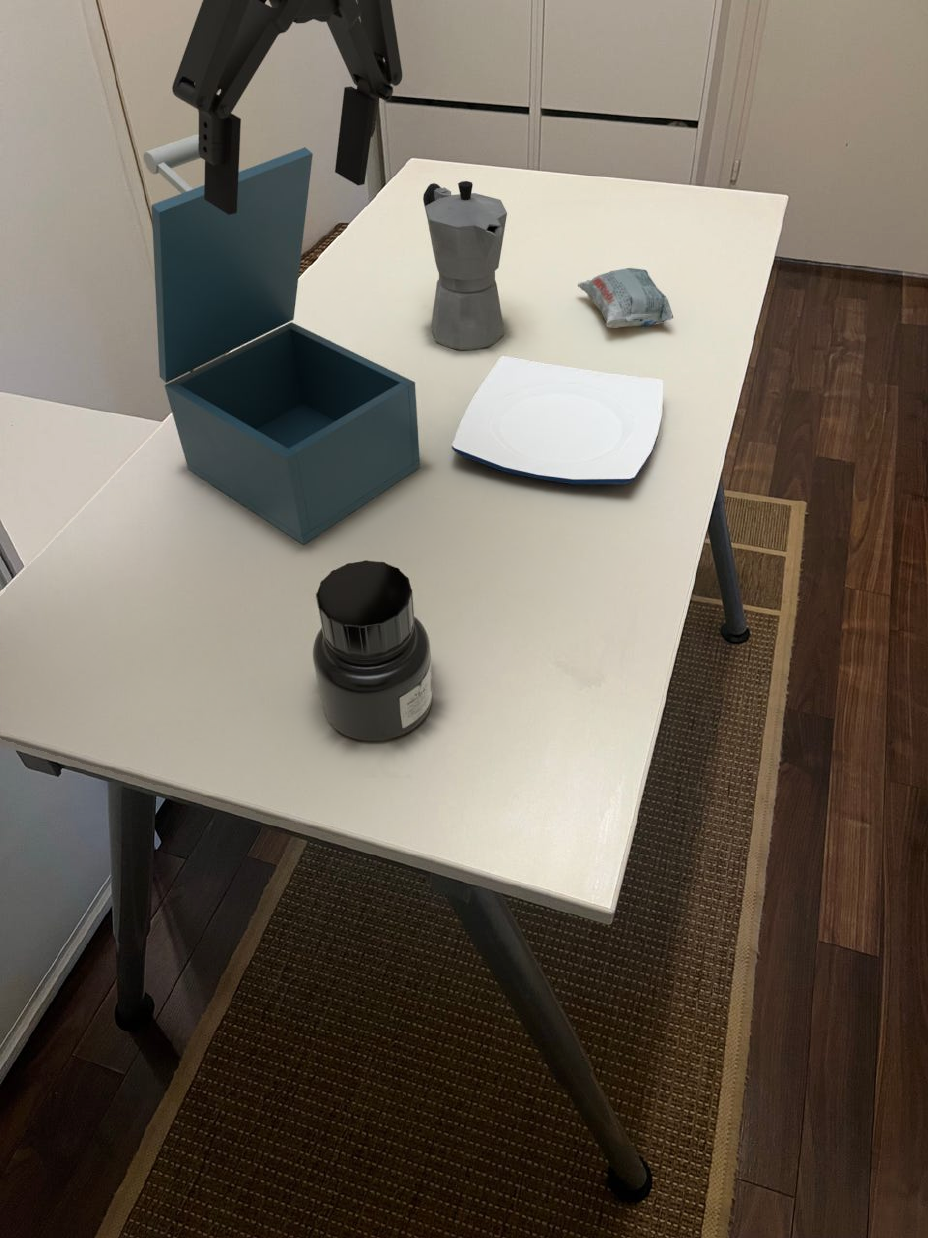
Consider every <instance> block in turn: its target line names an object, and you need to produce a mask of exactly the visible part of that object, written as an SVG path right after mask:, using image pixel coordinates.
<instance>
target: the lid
mask: <svg viewBox="0 0 928 1238" xmlns="http://www.w3.org/2000/svg"><path fill="white" fill-rule="evenodd" d="M198 140H199V133H196V134H194V135H190V136H188V137H187V136H186V137H184V138H181V139H179V140H175V141H173V142H170V143H167V144H163V145H161V146H158V147H155V148H152V149H149V150H146V151H144V152H143V162H144V164H145V167H146V169H147V170H148V171H149V173H150V174H152V175H157V174H160V176H162V177H163V178H164V179H165V180H166V181H167V182H168V183H169V184H170V185H172V186H173V188H175V189H176V190H177V191H178V192H179V193H180V194H176V195H174V196H171V197H168V198H166V199H164V200H161V201H158V202H155V203H153V204H151V219H152V220H151V225H152V244H153V245H152V246H153V247H152V249H153V267H154V287H155V308H156V330H157V331H156V332H157V333H156V334H157V350H158V351H157V352H158V353H157V355H158V373H159V378H160V379H161V380H162V381H163V382H164V383H166V384H168V383H170V382H172V381H174V380H176V379H178V378H180V377H182V376H184V375H186V374H188V373H190V372H192V371H194V370H196V369H198V368H200V367H202V366H204V365H206V364H208V363H210V362H212V361H214V360H216V359H218V358H220V357H222V356H224V355H226V354H228V353H230V352H232V351H234V350H236V349H238V348H240V347H242V346H244V345H246V344H248V343H250V342H252V341H254V340H256V339H258V338H260V337H262V336H264V335H266V334H268V333H270V332H272V331H274V330H276V329H278V328H280V327H282V326H285V325H287V324H289V323H291V322H293V320H294V319H295V311H296V303H297V302H296V301H297V293H298V284H299V276H300V267H301V259H302V251H303V242H304V234H305V233H304V232H305V225H306V215H307V206H308V198H309V192H310V191H309V190H310V181H311V174H312V173H311V172H312V164H313V155H314V154H313V152H312V151H310V150H309V149H308V148H307V147H306V146H304V147H302V148H300V149H297V150H293V151H291V152H288V153H286V154H282V155H280V156H277V157H275V158H272V159H270V160H267V161H265V162H262V163H259V164H257V165H253V166H251V167H249V168H246V169H244V170H239V175H238V198H237V213H235V214H231V215H228V214H227V213H225V212H223V211H222V210H220V209H219V208H217V207H216V206H214V205H212V204H211V203H209V202H208V201H206V200H204V184H203V185H200V186H198V187H196V188H193V187H192V186H191V185H189V183H188V182H187V181H186V180H184V179H183V178H182V177H181V176H180V175H179V174H178V173H176V172H175V171H174V170H173V169H174V168H177V167H180V166H182V165H185V164H188V163H190V162H193V161H196V160H199V159H202V158H201V157H200V154H199V151H198V143H199V141H198Z"/></svg>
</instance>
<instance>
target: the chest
mask: <svg viewBox="0 0 928 1238" xmlns="http://www.w3.org/2000/svg"><path fill="white" fill-rule="evenodd" d="M164 389H165V392H166V396H167V399H168V403H169V407H170V410H171V414H172V417H173V420H174V421H173V422H174V424H175V427H176V431H177V435H178V438H179V442H180V445H181V449H182V452H183V456H184V459H185V462H186V466H187V469H188V471H190V472H191V473H193V474H194V475H196V476H198V477H199V478H200V479H202V480H203V481H205V482H206V483H208V484H209V485H211V486H213V487H214V488H216V489H218V490H219V491H220V492H222V493H223V494H225V495H227V496H228V497H230V498H231V499H232V500H234V501H235V502H237V503H239V504H241V505H242V506H243V507H245V508H246V509H247V510H249V511H251V512H253V513H254V514H256V515H257V516H258V517H260V518H262V519H263V520H265V521H266V522H268V523H269V524H271V525H273V526H274V527H275V528H277V529H279V530H280V531H282V532H283V533H285V534H286V535H288V536H289V537H291V538H292V539H294V540H295V541H297V542H299V543H300V544H301V545H305V544H307V543H309V542H310V541H311V540H313V539H315V538H316V537H317V536H319V535H320V534H322V533H323V532H325V531H326V530H328V529H329V528H331V527H332V526H334V525H335V524H337V523H339V522H340V521H342V520H343V519H344V518H346V517H347V516H349V515H350V514H352V513H353V512H355V511H356V510H358V509H359V508H361V507H363V506H364V505H366V504H367V503H368V502H370V501H372V500H374V499H375V498H376V497H378V496H379V495H381V494H382V493H384V492H385V491H387V490H389V488H391V487H393V486H394V485H396V484H397V483H398V482H400V481H401V480H403V479H404V478H406V477H408V476H409V475H411V474H412V473H413V472H415V471H417V470H418V469H420V468H421V459H420V442H419V427H418V425H419V424H418V412H417V411H418V410H417V409H418V407H417V392H416V382H415V381H413V380H411V379H409V378H408V377H405V376H403V375H401V374H399V373H397V372H395V371H393V370H391V369H389V368H387V367H384V366H383V365H380V364H378V363H376V362H374V361H373V360H370V359H369V358H366V357H365V356H362V355H360V354H358V353H356V352H354V351H352V350H349V349H348V348H346V347H344V346H341V345H340V344H337V343H336V342H333V341H331V340H330V339H327V338H325V337H323V336H321V335H320V334H317V333H315V332H313V331H311V330H309V329H307V328H305V327H302V326H300V325H298V324H297V323H294V322H293V321H290V322H288V323H286V324H284V325H282V326H280V327H278V328H276V329H274V330H272V331H270V332H268V333H266V334H264V335H262V336H260V337H258V338H256V339H254V340H252V341H250V342H248V343H246V344H244V345H242V346H240V347H238V348H236V349H234V350H232V351H230V352H228V353H226V354H224V355H222V356H220V357H218V358H216V359H214V360H212V361H210V362H207V363H205V364H203V365H201V366H199V367H197V368H195V369H193V370H191V371H189V372H187V373H185V374H183V375H181V376H179V377H177V378H175V379H173V380H171V381H169V382H167V383H166V384H164Z"/></svg>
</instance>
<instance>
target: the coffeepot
mask: <svg viewBox="0 0 928 1238" xmlns="http://www.w3.org/2000/svg"><path fill="white" fill-rule="evenodd" d="M457 185H458V191H459V194H452V191H451V190H449V189H448V188H447V187H441V185H439V184H438V183H434V182H433V183H430V184H429V185H428V186H427V188H426V189H425V191H424V193H423V198H422V200H423V206H424V209H425V214H426V219H427V224H428V230H429V235H430V241H431V247H432V251H433V257H434V262H435V265H436V269H437V272H438V279H437V281H436V287H435V293H434V302H433V310H432V316H431V324H430V328H431V331H432V336H433V338H434V341H435V342H437V343H438V344H440V345H441V346H444V347H446V348H449V349H453V350H457V351H476V350H481V349H484V348H485V349H486V348H489V347H490V346H493V345H494V344H496V343H497V342H498V341H499V340H500V339H501V337H502V336H503V335H505V327H504V321H503V315H502V309H501V303H500V296H499V291H498V284H497V281H496V271H497V270H498V269H499V267H500V261H501V254H502V249H503V248H502V247H503V241H504V236H505V229H506V228H505V227H506V224H507V216H508V211H507V210H506V208H505V205H504V203H503V202H502V200H501V199H499V198H495V197H492V196H487V195H484V194H479V193H476V192H472V191H473V185H474V184H473V182H472V181H468V180H462V181H460V182H458V183H457Z"/></svg>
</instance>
